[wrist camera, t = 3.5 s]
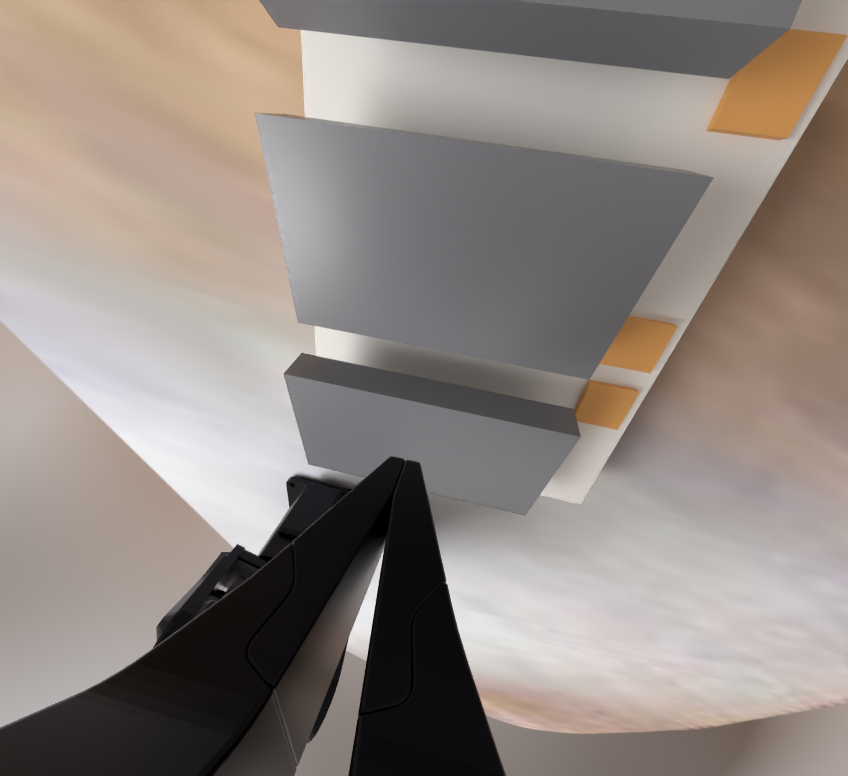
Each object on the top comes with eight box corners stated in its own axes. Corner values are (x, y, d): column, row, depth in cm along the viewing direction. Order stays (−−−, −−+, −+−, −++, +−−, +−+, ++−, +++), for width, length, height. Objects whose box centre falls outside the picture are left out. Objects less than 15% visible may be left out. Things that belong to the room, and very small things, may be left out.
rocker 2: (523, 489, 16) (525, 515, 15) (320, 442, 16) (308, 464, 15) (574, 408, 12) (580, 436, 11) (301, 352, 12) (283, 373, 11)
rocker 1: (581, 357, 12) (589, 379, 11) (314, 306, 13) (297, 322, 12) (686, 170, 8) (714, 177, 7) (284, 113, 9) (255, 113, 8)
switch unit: (567, 466, 19) (586, 523, 16) (341, 416, 20) (310, 458, 17) (910, -199, 8) (1297, -577, 4) (340, -224, 9) (239, -532, 5)
